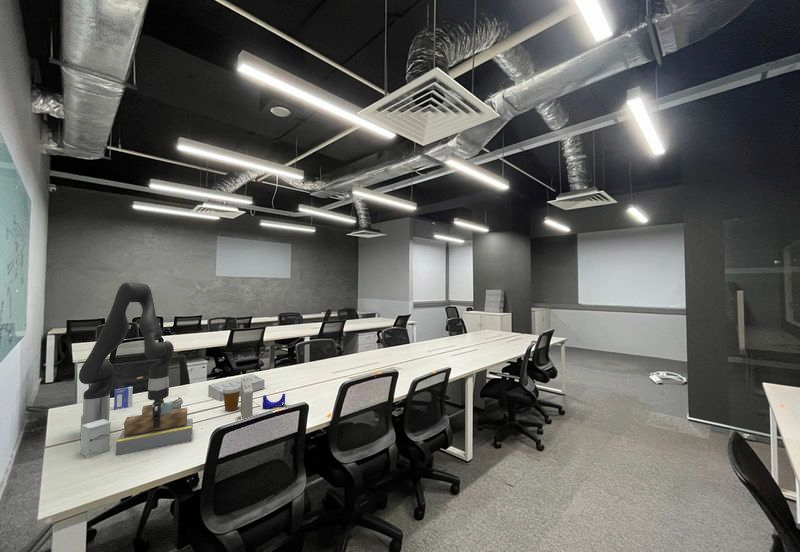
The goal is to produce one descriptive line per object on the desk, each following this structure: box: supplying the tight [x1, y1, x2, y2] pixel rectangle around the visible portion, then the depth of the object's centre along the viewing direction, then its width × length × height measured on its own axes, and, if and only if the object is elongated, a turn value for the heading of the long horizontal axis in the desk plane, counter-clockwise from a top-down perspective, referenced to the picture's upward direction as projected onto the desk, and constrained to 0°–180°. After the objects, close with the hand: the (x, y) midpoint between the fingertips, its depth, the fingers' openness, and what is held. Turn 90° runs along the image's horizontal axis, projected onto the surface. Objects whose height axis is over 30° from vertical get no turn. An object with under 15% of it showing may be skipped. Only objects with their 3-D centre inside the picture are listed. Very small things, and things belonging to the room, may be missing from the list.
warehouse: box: [207, 373, 265, 402], centre depth 212 cm, size 30×14×8 cm, turn 148°
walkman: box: [113, 386, 134, 411], centre depth 182 cm, size 8×3×12 cm, turn 134°
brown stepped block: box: [123, 407, 188, 436], centre depth 143 cm, size 22×6×6 cm, turn 121°
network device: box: [234, 378, 254, 422], centre depth 164 cm, size 26×9×20 cm, turn 30°
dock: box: [115, 418, 194, 456], centre depth 143 cm, size 26×12×6 cm, turn 121°
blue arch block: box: [262, 393, 286, 409], centre depth 187 cm, size 12×4×6 cm, turn 107°
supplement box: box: [79, 419, 111, 459], centre depth 134 cm, size 7×7×13 cm
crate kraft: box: [141, 404, 153, 418], centre depth 141 cm, size 4×4×4 cm
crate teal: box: [160, 401, 172, 415], centre depth 145 cm, size 4×4×4 cm
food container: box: [170, 396, 184, 410], centre depth 166 cm, size 12×6×10 cm, turn 168°
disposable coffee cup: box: [222, 385, 241, 411], centre depth 183 cm, size 10×10×12 cm
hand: (157, 424), depth 143 cm, fingers closed on brown stepped block, 5 cm apart
